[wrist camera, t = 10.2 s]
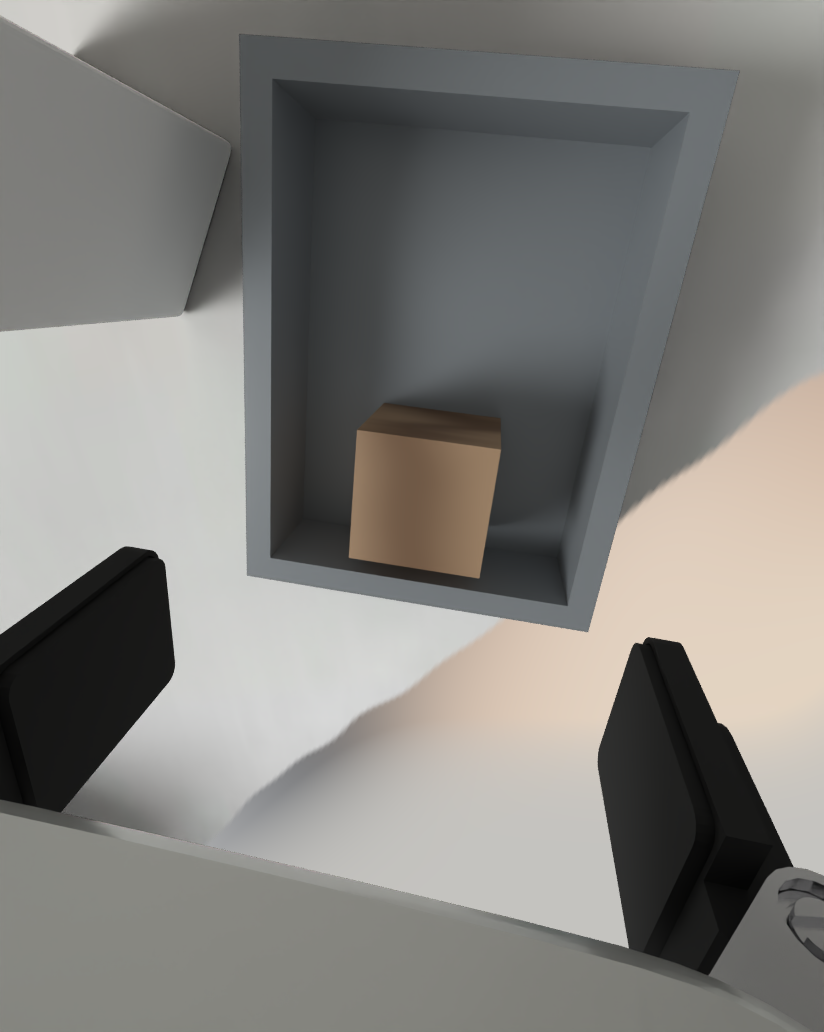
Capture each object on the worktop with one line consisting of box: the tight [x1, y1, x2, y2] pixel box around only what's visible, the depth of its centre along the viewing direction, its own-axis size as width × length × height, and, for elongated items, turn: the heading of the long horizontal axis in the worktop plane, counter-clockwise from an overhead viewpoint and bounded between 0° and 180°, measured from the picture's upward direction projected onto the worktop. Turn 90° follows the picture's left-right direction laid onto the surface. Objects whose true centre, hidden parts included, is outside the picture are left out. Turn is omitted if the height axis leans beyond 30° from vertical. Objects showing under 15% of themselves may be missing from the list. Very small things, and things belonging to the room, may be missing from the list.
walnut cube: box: [349, 403, 501, 578], centre depth 22 cm, size 5×5×5 cm
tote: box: [239, 34, 740, 632], centre depth 21 cm, size 14×18×5 cm
